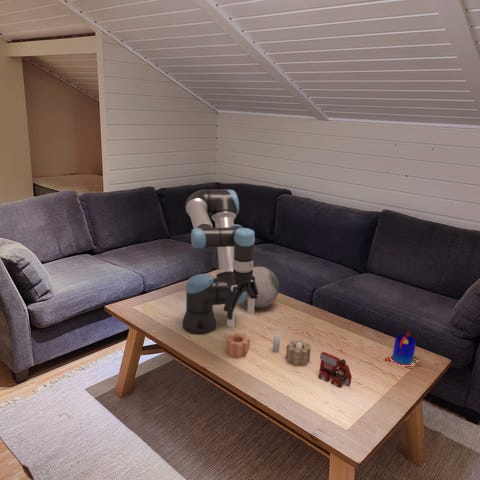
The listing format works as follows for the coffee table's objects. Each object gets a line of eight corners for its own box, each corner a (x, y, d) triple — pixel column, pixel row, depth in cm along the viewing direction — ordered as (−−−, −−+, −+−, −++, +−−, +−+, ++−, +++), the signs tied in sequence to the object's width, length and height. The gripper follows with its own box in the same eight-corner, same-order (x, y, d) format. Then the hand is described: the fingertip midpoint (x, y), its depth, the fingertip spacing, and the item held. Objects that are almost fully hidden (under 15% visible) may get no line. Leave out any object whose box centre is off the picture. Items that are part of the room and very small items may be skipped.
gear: (284, 364, 169) (285, 350, 167) (287, 351, 177) (289, 338, 175) (308, 368, 167) (309, 354, 165) (310, 355, 175) (311, 342, 173)
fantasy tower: (410, 372, 169) (415, 345, 165) (381, 360, 177) (385, 333, 173) (422, 360, 177) (427, 334, 174) (394, 349, 185) (398, 323, 181)
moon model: (252, 318, 206) (254, 279, 200) (229, 302, 222) (230, 264, 216) (286, 309, 216) (288, 271, 210) (262, 293, 232) (264, 258, 226)
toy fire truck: (344, 394, 155) (347, 368, 152) (313, 379, 163) (316, 355, 159) (353, 385, 161) (356, 360, 157) (323, 371, 168) (325, 347, 165)
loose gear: (221, 353, 177) (222, 339, 175) (235, 343, 184) (236, 331, 182) (239, 361, 172) (240, 347, 170) (253, 351, 179) (253, 338, 177)
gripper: (231, 282, 156) (229, 335, 162) (268, 262, 175) (265, 310, 182) (214, 276, 160) (213, 328, 166) (253, 258, 179) (250, 305, 186)
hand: (240, 319), depth 174 cm, fingers open, 13 cm apart
